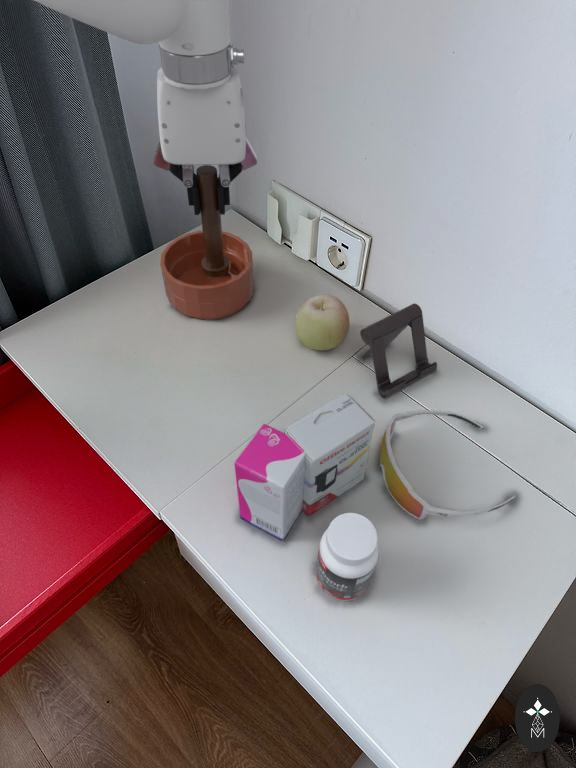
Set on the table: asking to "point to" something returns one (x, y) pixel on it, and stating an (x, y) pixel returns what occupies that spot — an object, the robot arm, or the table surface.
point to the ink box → (332, 449)
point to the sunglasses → (398, 483)
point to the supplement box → (271, 482)
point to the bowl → (207, 277)
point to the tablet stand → (383, 335)
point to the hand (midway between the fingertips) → (210, 207)
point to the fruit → (322, 322)
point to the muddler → (211, 223)
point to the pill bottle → (347, 556)
